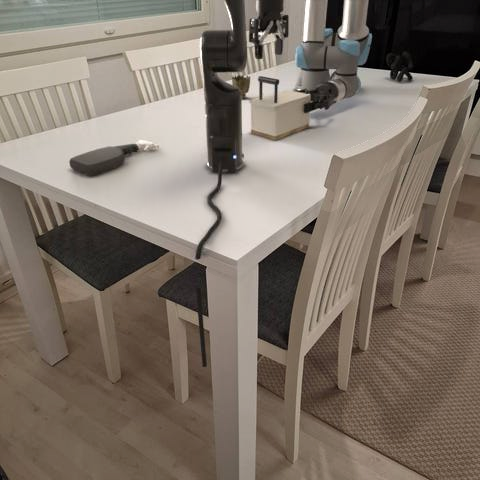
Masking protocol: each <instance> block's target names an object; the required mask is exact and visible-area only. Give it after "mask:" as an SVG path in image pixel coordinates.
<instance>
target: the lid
mask: <svg viewBox="0 0 480 480" xmlns="http://www.w3.org/2000/svg"><path fill="white" fill-rule="evenodd" d="M257 81H258V84H259V86H258V87H259V89H258V91H259V92H258V95H259V97H256V98H252V99H250V100H248V101H249V102H248V103H249V104H250V105H251V104H255V105H259V106H264V107H268V108H272V109H276V108H279V107H282V106H285V105H288V104H292V103H295V102H298V101H301V100H304V99H307V98H310V97H311V95H310V94H305V93H300V92H295V91H296V90H289V89H283V90H280V91H279V90H278V89H279V88H278V87H279V84H280V79H278V78H273V77H268V76H262V75H259V76H258V77H257ZM263 84H269V85H274V92H273V93H270V94H266V95H263Z"/></svg>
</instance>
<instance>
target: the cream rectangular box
mask: <svg viewBox="0 0 480 480" xmlns="http://www.w3.org/2000/svg"><path fill="white" fill-rule="evenodd" d="M310 99H311V97H310V98H307V99H304V100H301V101H298V102H295V103H292V104H288V105H285V106H282V107H279V108H276V109H272V108H268V107H264V106H259V105H255V104H251V103H250V134H252V135H256V136H259V137H263V138H266V139H269V140H272V141H278V140H281V139H283V138H285V137H288V136H290V135H293V134H296V133H298V132H300V131H304V130H305V129H308V128H310V113H311V112H308V113H304V104H307V103H310V102H311V101H310Z"/></svg>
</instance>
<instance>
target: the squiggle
mask: <svg viewBox="0 0 480 480" xmlns="http://www.w3.org/2000/svg"><path fill="white" fill-rule="evenodd" d="M401 57H402V59H401ZM391 59H392V60H391ZM393 60H394V61H393ZM385 61H386V64H387V67H390V68H391V70H390V72H389V78H390V79H391V80H395V79H396V81H397V82H399V83H400V82H402V81H403V79H404V76H406V78H407V80H408V81H412V80H413V79H414V77H413V75H412V74H411V73H410V72H409V71H410V70H412V69H413V68H414V64H413V61H412V57H411V54H410V53H409V52H408V51H403V53H402V54H401V55H396V54H394V53H392V52H390V53H387V55H386V57H385ZM406 62H407V65H408V66H407V67H405V66H404V65H405V64H406ZM400 70H401V71H400Z"/></svg>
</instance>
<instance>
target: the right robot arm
mask: <svg viewBox="0 0 480 480" xmlns="http://www.w3.org/2000/svg"><path fill="white" fill-rule="evenodd" d="M368 8H369V0H343V11H342V13H343V14H342V24H341V25H340V26H339V28H338V29H337V32H334V31H333V28H326V23H327V22H326V21H327V11H328V0H305V2H304V16H303V30H302V31H303V32H302V40H301V45H298V46H296V48H295V55H294V56H295V57H294V59H295V61H294V62H295V66H296V67H297V68H298V69H300V71H299V74H298V77H297V80H296V83H295V87H294V88H295V89H294V91H295V92H300V93H305V94H310V95H311V99H310V103H307V104H304V113H308V112H310V113H312V112H314V111H317V110H323V109H324V110H325V111H327V110H329V109H330V108H332V106H333V105H334V104H337V102H340V101H341V100H345V99H349V98H352V97H353V96H356V95H357V94H358V93H359V92H360V90H361V89H362V82H361V78H360V77H359V76H358V68H359V66H363V65H364V64H366V62H367V60H368V57H369V53H370V49H371V45H372V39H373V34H372V33H370V29H369V27H368V26H367V18H368V17H367V16H368ZM330 70H334V71H333V72H332V74H330ZM334 75H335V78H334V79H333V77H334Z"/></svg>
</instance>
